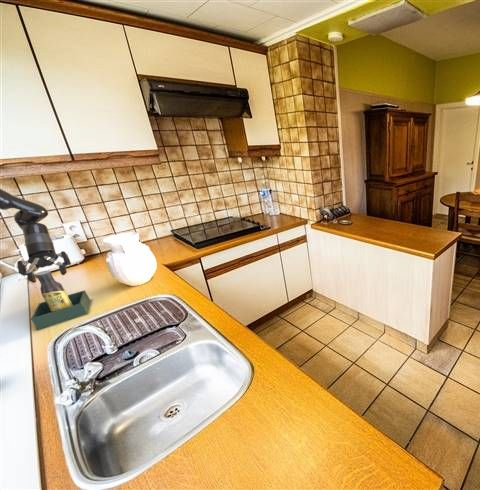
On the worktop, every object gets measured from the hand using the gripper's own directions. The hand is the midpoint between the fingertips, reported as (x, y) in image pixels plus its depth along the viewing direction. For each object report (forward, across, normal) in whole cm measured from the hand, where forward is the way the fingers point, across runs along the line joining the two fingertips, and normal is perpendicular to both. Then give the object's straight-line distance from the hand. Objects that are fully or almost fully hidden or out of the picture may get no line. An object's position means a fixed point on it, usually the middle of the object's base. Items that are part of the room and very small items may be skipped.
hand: (48, 278), depth 111 cm
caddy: (+14, 0, +8) cm, 17 cm away
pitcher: (+6, +26, +17) cm, 31 cm away
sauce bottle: (+14, 0, +8) cm, 16 cm away
